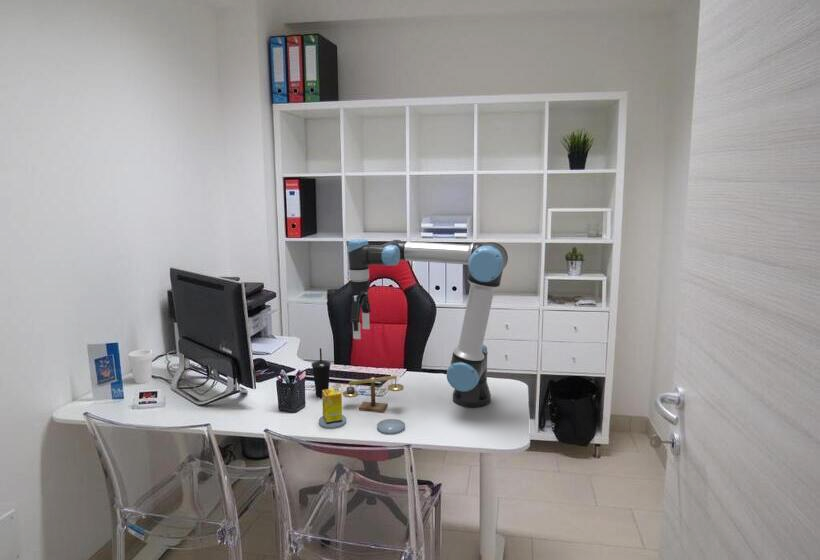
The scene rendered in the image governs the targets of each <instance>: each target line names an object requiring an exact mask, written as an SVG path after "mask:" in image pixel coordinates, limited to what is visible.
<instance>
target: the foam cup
mask: <svg viewBox="0 0 820 560" xmlns="http://www.w3.org/2000/svg"><path fill="white" fill-rule="evenodd" d="M153 355H154V354H153V350H152V349H137V350H133V351H131V352H129V353H128V360H129V363H130V367H131V370H132V374H133V378H134V381H135V384H137V385H143V384H144V385H145V384H148V383H150V382H152V376H153V375H152V374H153V373H152V371H153V357H154V356H153Z"/></svg>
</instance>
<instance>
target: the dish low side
mask: <svg viewBox="0 0 820 560" xmlns="http://www.w3.org/2000/svg"><path fill="white" fill-rule="evenodd" d="M346 424H347V417H346V416H345V415H343V414H342V422H338V423H332V424H326V422H325V420H324V418H323V415H322V416H320V417H319V419H318V425H319V426H320V427H321V428H323V429H326V430H327V429H330V430H331V429H338V428H339V429H340V428H341V427H344V426H345V425H346Z"/></svg>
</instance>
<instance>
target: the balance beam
mask: <svg viewBox="0 0 820 560" xmlns="http://www.w3.org/2000/svg"><path fill="white" fill-rule="evenodd" d="M397 378H398V376H397V375H390V376H382V377H381V376H379V377H374V376H372V377H370V378H366V379H359V380H352V381H349V382H348V385H349V386H348V387H346V390H345V391H343V392H342V396H343V397H345V398H356V397H358V395H359V391H358V390H356V389H355V386H353V385H361V384H366V383H367V384H368V383H370V384H371V383H375V384H376V383H377V382H382V381H391V380H394V383H392V384H388V386H387V389H388V391H390V392H400V391H403V390H404V387H405V386H404V385H403V384H401V383H397Z"/></svg>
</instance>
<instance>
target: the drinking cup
mask: <svg viewBox="0 0 820 560" xmlns="http://www.w3.org/2000/svg"><path fill="white" fill-rule="evenodd" d="M322 358H323V357H322V348H319V360H316V361H313V362H312V363H311V367H312V374H313V381H314V388H315V389H314V391H315V396H316V397H317V398H319V399H322V390H326V389H330V388H329V387H330V386H329V385H330V372H331V370H330V369H331V362H330V361H329V360H325V359H322Z"/></svg>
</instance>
